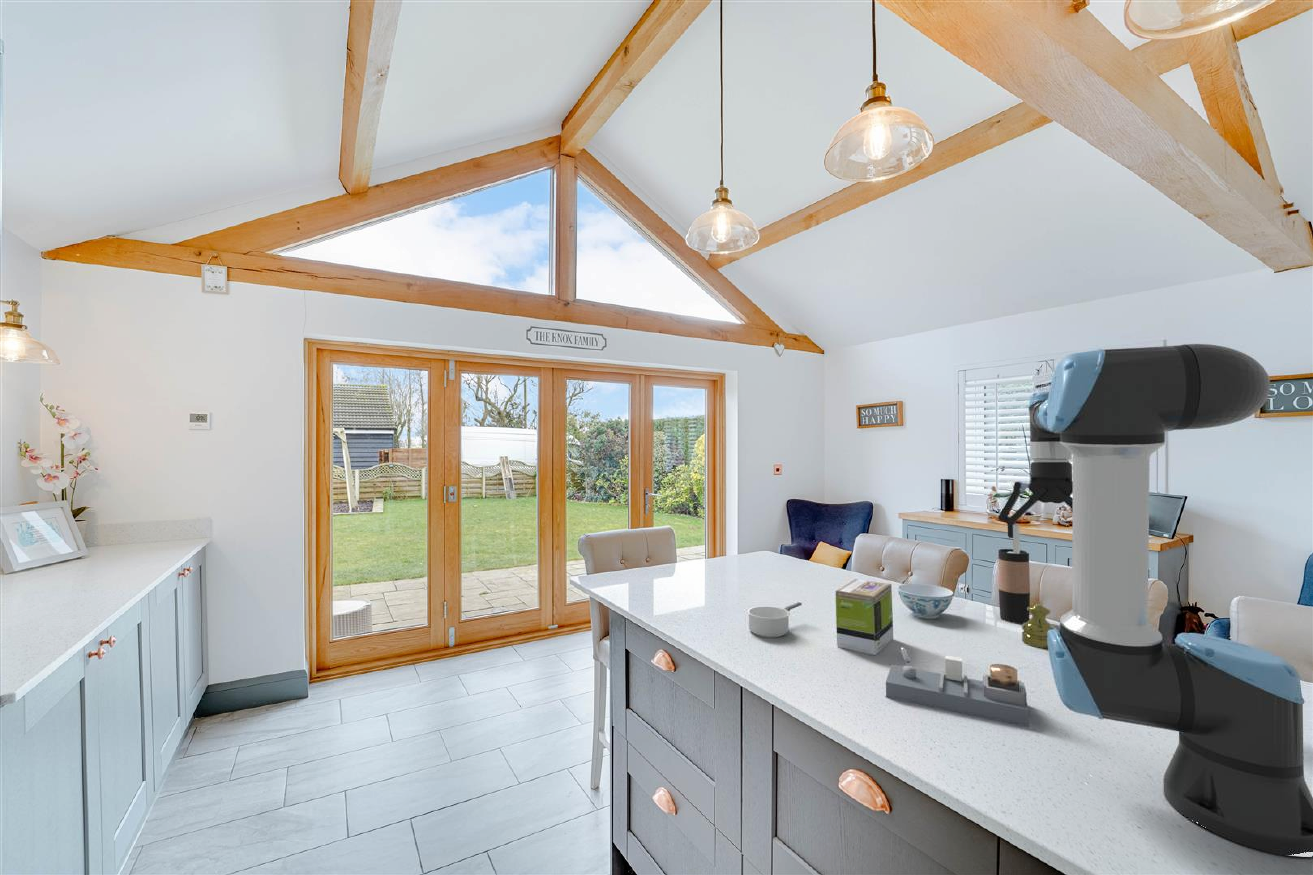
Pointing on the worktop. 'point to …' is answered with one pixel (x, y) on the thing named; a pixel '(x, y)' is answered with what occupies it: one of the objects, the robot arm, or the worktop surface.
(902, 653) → the toggle lever
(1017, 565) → the travel mug
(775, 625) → the saucepan
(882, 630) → the tea box
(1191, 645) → the robot arm
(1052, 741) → the worktop surface
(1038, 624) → the gold chess piece
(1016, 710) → the control panel
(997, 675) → the push button
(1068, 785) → the worktop surface
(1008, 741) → the worktop surface
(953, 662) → the white slider block
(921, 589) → the chinaware
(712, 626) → the worktop surface
